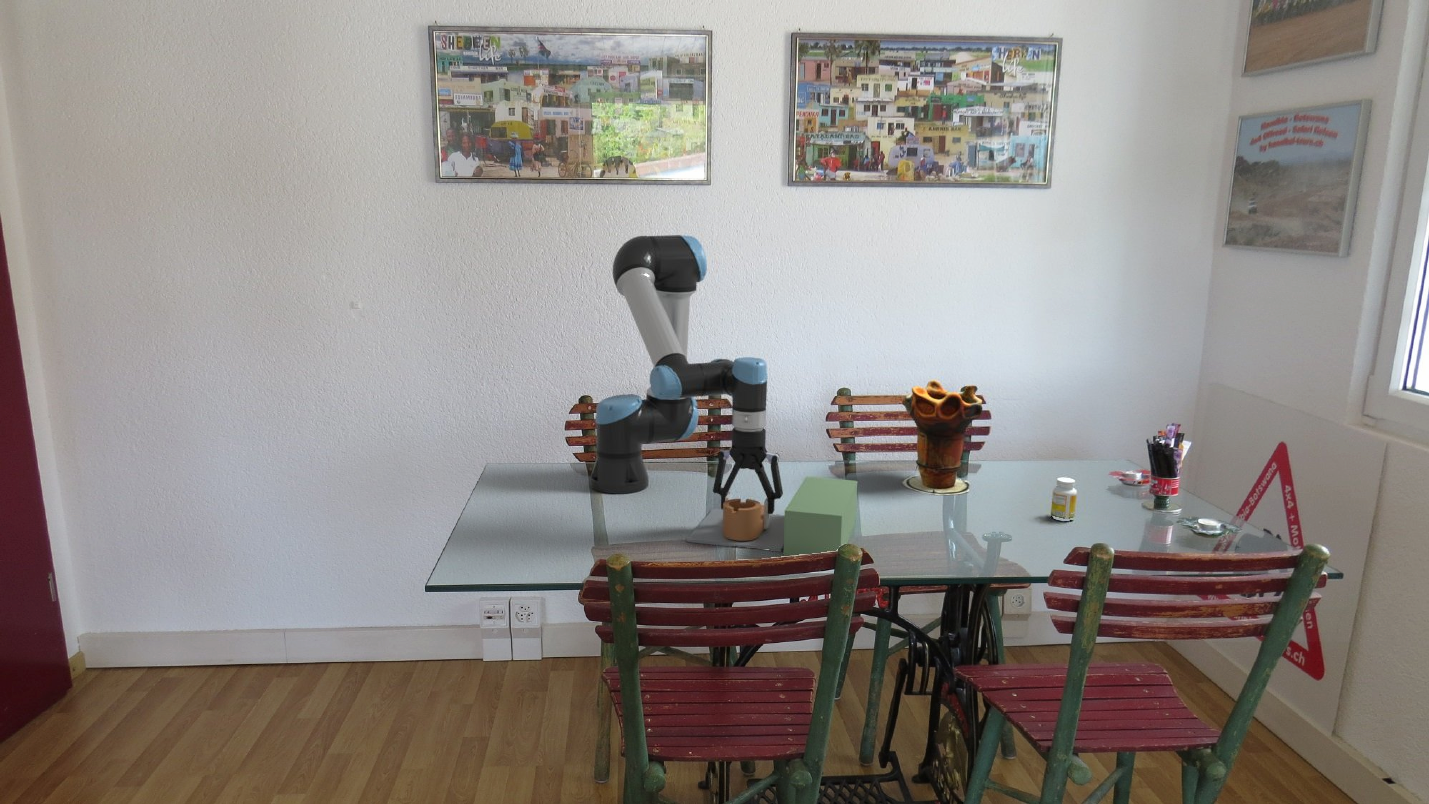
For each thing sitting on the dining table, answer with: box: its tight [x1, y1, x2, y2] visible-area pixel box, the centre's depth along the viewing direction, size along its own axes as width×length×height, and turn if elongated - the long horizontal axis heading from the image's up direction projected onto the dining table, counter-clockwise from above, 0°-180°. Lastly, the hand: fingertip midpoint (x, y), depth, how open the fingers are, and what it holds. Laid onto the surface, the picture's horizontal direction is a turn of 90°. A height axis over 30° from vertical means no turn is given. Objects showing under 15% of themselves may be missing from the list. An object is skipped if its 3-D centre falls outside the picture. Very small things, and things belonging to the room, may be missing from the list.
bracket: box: [722, 498, 764, 541], centre depth 217 cm, size 18×8×7 cm, turn 165°
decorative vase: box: [901, 379, 983, 496], centre depth 252 cm, size 21×23×28 cm
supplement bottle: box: [1050, 477, 1078, 519], centre depth 228 cm, size 5×5×10 cm
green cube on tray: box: [686, 476, 858, 557], centre depth 216 cm, size 34×26×10 cm
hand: (747, 524), depth 218 cm, fingers closed on bracket, 8 cm apart
